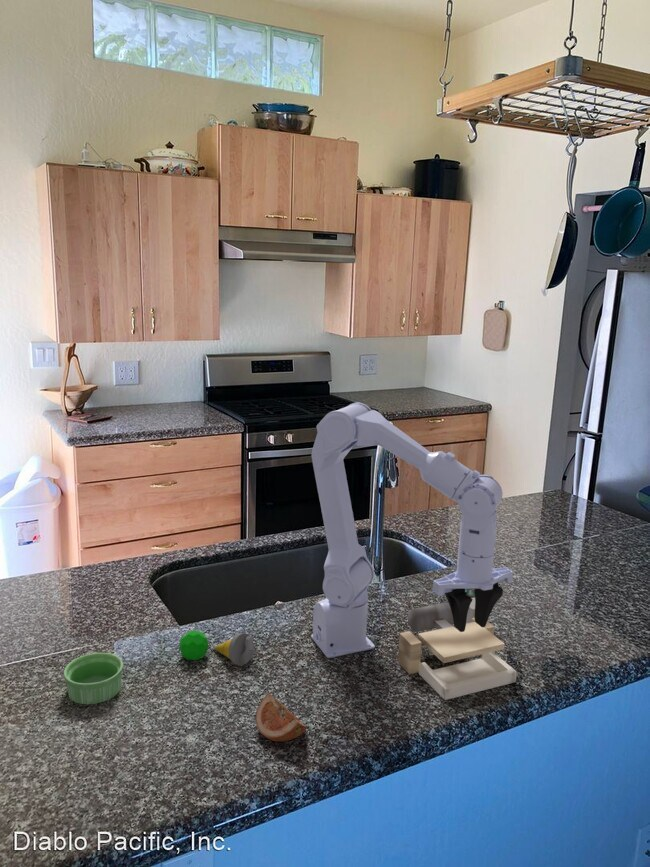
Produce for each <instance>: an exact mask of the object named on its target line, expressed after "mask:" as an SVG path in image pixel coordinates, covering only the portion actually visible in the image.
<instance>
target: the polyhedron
mask: <svg viewBox="0 0 650 867" xmlns="http://www.w3.org/2000/svg"><path fill="white" fill-rule="evenodd" d="M178 645H179V649H180V650H179V651H180V652H181V653H180V654H181V656H182V657H183V658H184V659H185V660H187V661H198V660H201V659H202V658H203V657H204V656H206V654H207V653H208V649H209V642H208V638H207V636H206V635H205V634H204V633H203V632H202V631H199V630H190V631H188V632H187V633H185V634H184V635H183V636H182V637H181V639H180V641H179V644H178Z"/></svg>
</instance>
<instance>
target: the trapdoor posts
mask: <svg viewBox="0 0 650 867" xmlns="http://www.w3.org/2000/svg"><path fill="white" fill-rule="evenodd" d="M472 622H475V618H472ZM484 628H485V629H487V630H488V631H489V632H490V633H492V634H493V635H494V636H495V626H494V625H493V624H491V623H490V622H489V621H487V623H486V626H485V627H484ZM422 645H423V643H422V642H421V641H420V640H419V639H418V637H416V636H415V634H413V632H411V631H410V630H408V631H404V632H400V633H399V638H398V654H397V663H398V664H399V665H400V667H402V668H403V670H404V671H406V673H408V674H409V675H412V674H416V673H419V663H421V659H422ZM479 656H480V657H481V658H482V654H481V655H479Z"/></svg>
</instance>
